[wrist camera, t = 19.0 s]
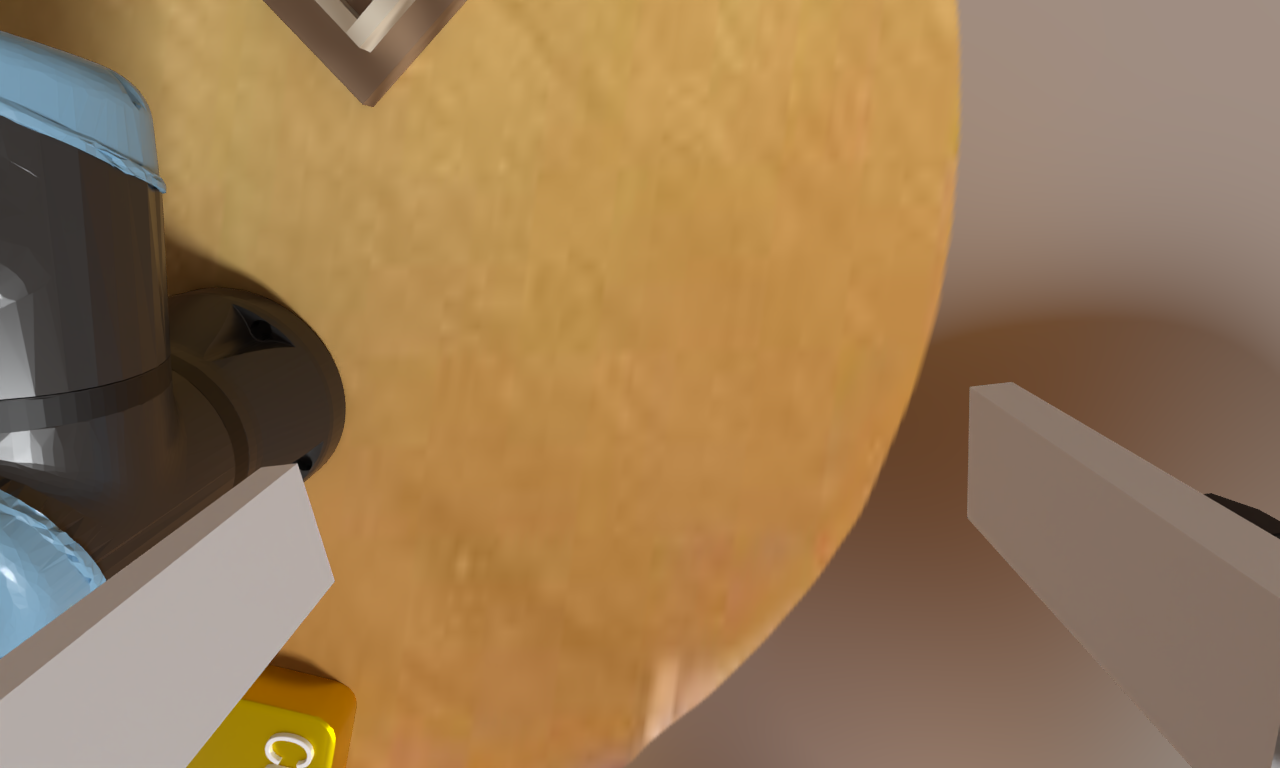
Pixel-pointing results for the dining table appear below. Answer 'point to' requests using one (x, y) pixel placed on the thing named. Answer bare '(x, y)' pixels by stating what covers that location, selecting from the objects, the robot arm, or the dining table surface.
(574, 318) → the dining table surface
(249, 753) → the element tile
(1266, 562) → the robot arm
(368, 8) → the walnut pin board
